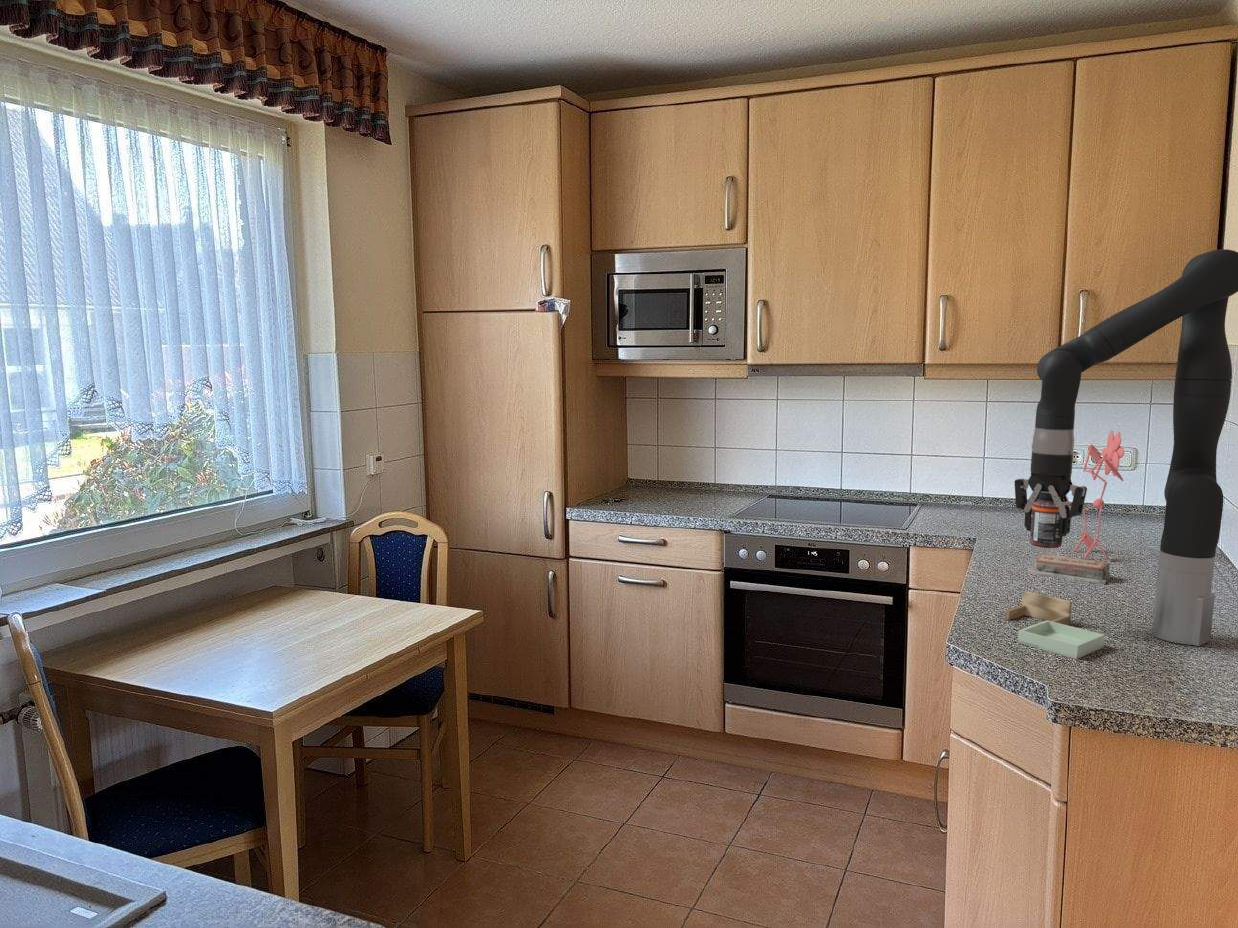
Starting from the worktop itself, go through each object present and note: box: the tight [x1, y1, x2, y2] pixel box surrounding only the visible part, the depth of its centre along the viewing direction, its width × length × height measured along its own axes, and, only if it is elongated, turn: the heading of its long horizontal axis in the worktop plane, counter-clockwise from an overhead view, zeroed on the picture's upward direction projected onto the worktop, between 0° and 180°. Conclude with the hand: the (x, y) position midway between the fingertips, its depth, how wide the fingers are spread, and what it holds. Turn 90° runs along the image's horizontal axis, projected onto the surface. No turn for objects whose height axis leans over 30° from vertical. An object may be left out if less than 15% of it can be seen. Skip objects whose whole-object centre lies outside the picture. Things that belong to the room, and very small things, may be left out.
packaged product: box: [1026, 552, 1112, 585], centre depth 229 cm, size 18×5×10 cm
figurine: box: [1072, 430, 1125, 562], centre depth 248 cm, size 15×26×35 cm, turn 170°
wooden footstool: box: [1004, 590, 1072, 626], centre depth 188 cm, size 10×8×5 cm
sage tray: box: [1017, 620, 1106, 660], centre depth 174 cm, size 11×11×2 cm
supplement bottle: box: [1029, 491, 1063, 549], centre depth 184 cm, size 6×6×11 cm
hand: (1046, 532), depth 184 cm, fingers closed on supplement bottle, 6 cm apart
